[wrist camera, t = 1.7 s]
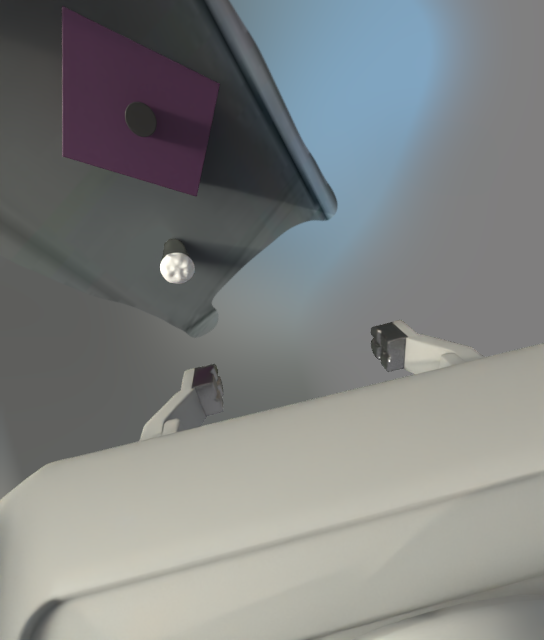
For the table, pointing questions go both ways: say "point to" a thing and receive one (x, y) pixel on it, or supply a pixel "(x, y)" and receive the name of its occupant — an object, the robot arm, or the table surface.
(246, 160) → the table surface
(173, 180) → the lid
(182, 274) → the milkshake
